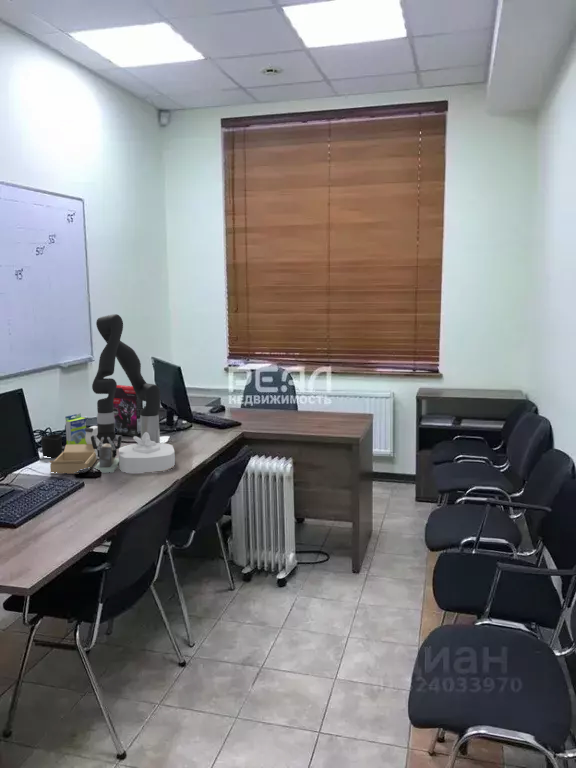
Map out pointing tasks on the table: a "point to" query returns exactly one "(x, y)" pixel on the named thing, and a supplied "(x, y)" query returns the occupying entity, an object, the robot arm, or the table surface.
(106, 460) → the block
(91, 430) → the white security camera
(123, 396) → the graphics card box
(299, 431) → the table surface
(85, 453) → the carton
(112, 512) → the table surface
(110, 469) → the board
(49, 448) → the pen holder
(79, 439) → the box
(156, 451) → the tissue box
